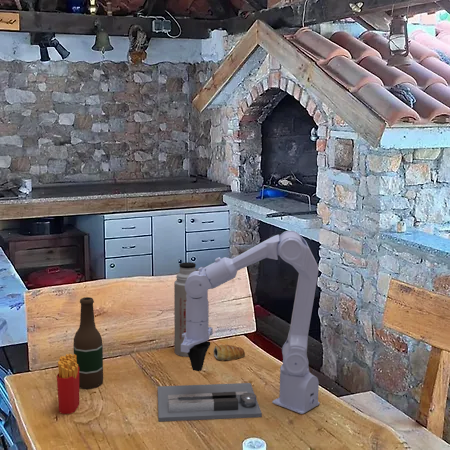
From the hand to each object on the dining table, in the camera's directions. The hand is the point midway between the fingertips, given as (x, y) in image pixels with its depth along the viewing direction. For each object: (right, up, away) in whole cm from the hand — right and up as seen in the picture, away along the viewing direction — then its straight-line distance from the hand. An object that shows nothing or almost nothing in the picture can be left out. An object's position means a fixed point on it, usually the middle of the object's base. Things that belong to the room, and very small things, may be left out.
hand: (197, 369), depth 166 cm
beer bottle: (-30, -6, +10) cm, 32 cm away
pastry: (+8, -3, +31) cm, 32 cm away
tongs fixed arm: (+2, -8, -6) cm, 11 cm away
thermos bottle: (-4, -2, +34) cm, 35 cm away
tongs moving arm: (+4, -8, -4) cm, 10 cm away
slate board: (+3, -8, -1) cm, 9 cm away
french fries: (-32, -9, -4) cm, 33 cm away
